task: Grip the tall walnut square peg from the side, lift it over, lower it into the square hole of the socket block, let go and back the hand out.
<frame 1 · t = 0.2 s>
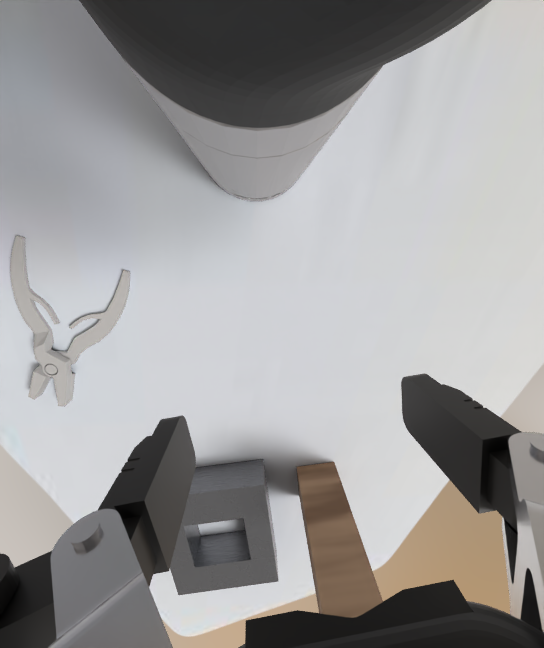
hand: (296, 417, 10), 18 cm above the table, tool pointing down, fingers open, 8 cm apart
walnut peg: (316, 479, 34), on the table
pliers: (68, 328, 27), on the table
socket block: (222, 514, 35), on the table
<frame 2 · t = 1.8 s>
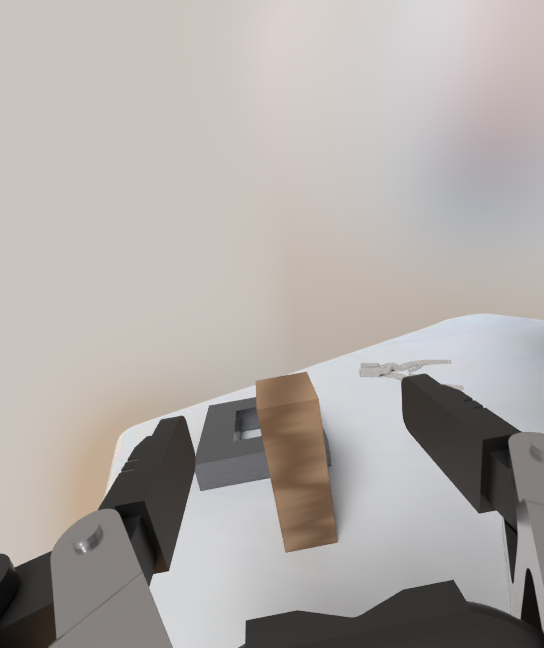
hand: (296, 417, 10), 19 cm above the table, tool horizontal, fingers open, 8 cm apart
walnut peg: (306, 522, 26), on the table
pliers: (405, 376, 49), on the table
socket block: (263, 442, 38), on the table
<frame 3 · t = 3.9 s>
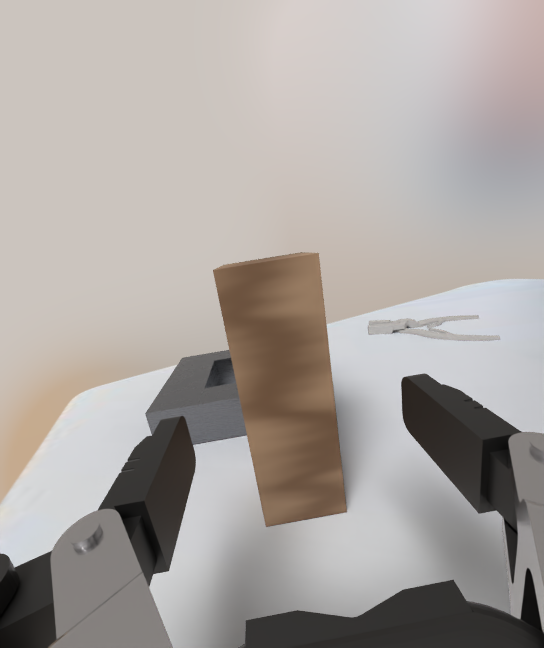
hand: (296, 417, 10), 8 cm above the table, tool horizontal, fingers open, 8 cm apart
walnut peg: (299, 486, 18), on the table
pliers: (423, 333, 41), on the table
socket block: (248, 398, 29), on the table
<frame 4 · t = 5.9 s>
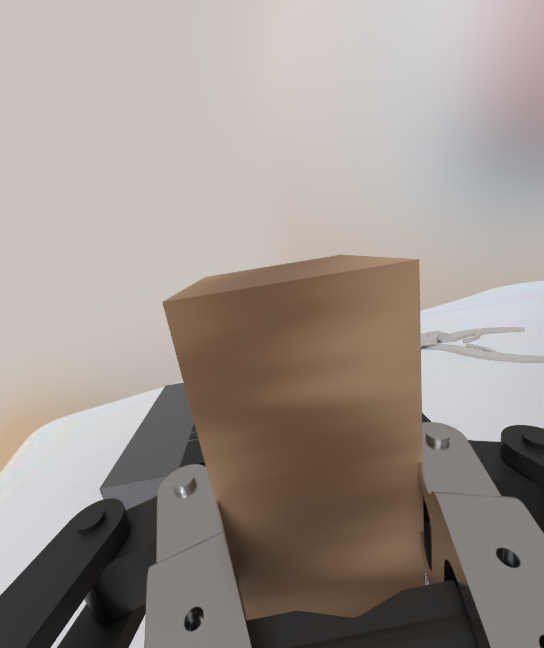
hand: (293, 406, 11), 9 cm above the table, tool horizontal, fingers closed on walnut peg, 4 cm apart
walnut peg: (334, 639, 11), on the table, touching gripper
pliers: (459, 349, 34), on the table
socket block: (248, 444, 22), on the table
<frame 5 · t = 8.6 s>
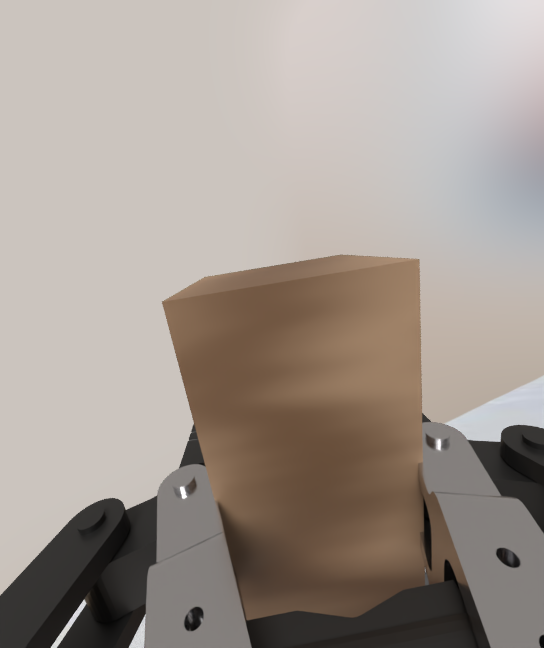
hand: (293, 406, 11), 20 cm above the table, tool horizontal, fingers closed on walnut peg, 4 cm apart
walnut peg: (334, 640, 11), point 11 cm above the table, touching gripper
when the fingers open (10 cm above the table, at t = 11.3 s): walnut peg drops 1 cm, resting in socket block.
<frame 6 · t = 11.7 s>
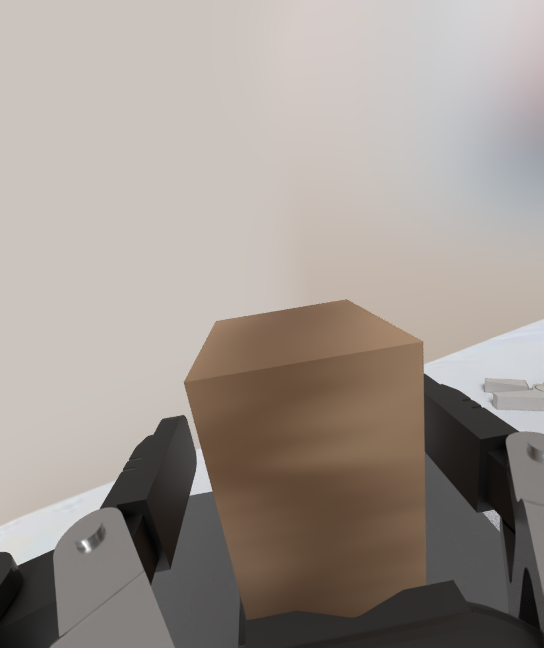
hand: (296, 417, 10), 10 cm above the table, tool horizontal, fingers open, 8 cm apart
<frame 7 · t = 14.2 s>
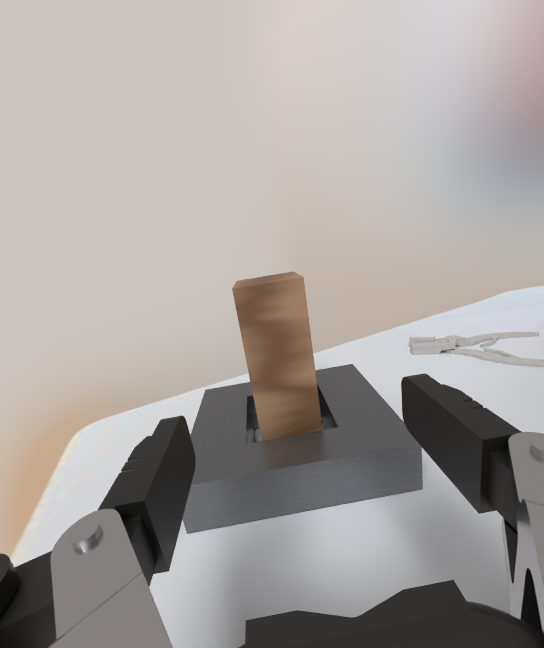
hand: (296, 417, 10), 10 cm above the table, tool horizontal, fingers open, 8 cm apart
walnut peg: (293, 446, 23), resting in socket block
pliers: (477, 353, 35), on the table
socket block: (292, 446, 23), on the table
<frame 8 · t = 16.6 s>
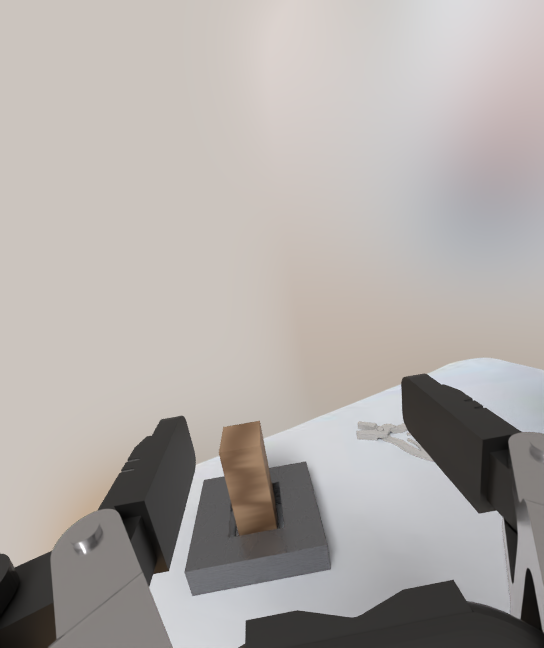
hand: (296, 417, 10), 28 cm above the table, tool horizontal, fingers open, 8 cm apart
walnut peg: (260, 528, 36), resting in socket block
pliers: (403, 440, 48), on the table
socket block: (260, 528, 36), on the table
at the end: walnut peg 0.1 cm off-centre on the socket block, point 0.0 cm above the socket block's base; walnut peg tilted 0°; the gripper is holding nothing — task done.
